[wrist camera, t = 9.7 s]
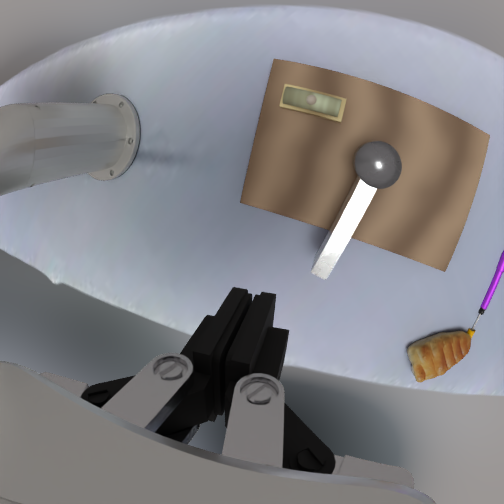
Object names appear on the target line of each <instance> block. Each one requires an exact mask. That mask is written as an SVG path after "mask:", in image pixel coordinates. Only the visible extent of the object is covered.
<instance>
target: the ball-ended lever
mask: <svg viewBox="0 0 504 504" xmlns="http://www.w3.org/2000/svg"><path fill="white" fill-rule="evenodd" d="M353 167H354V170H355V172H356V173H357V175H358V176H357V178H356V180H355V182H354V184H353V186H352V188H351V190H350V192H349V193H348V195H347V197H346V199H345V201H344V203H343V205H342V207H341V209H340V211H339V213H338V215H337V217H336V219H335V220H334V222H333V224H332V226H331V228H330V230H329V232H328V234H327V235H326V237H325V239H324V241H323V243H322V245H321V247H320V248H319V250H318V252H317V254H316V256H315V258H314V262H313V266H312V269H311V273H313V274H315V275H317V276H318V277H320V278H322V279H324V280H326V279H327V277H328V276H329V274H330V272H331V271H332V269H333V267H334V266H335V264H336V262H337V260H338V259H339V257H340V255H341V254H342V252H343V250H344V248H345V247H346V245H347V243H348V241H349V240H350V238H351V236H352V234H353V232H354V231H355V229H356V227H357V225H358V223H359V222H360V220H361V218H362V216H363V214H364V212H365V210H366V209H367V207H368V205H369V203H370V201H371V199H372V197H373V195H374V193H375V191H376V189H384V188H388V187H390V186H392V185H393V184H394V183H395V182H396V181H397V180H398V179H399V177H400V174H401V170H402V162H401V158H400V156H399V154H398V152H397V151H396V150H395V148H394V147H392V146H391V145H390V144H388V143H385V142H382V141H373V142H368V143H365V144H363V145H361V146H360V147H359V148H358V149H357V150H356V152H355V153H354V156H353Z"/></svg>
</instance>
